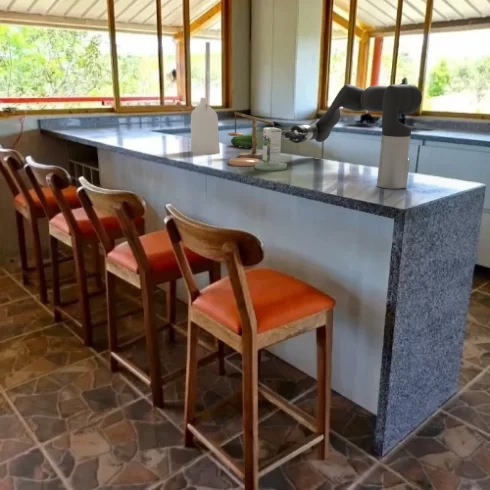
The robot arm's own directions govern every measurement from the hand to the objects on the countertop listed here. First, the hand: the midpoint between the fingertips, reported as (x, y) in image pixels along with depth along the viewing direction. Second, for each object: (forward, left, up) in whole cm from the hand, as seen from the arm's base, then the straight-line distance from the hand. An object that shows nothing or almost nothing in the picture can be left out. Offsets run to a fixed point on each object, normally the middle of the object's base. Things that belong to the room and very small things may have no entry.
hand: (281, 137), depth 199 cm
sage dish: (+5, +7, -12) cm, 14 cm away
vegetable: (+15, -58, -12) cm, 61 cm away
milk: (+35, -37, -12) cm, 52 cm away
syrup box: (+4, +6, -10) cm, 13 cm away
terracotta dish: (+16, -3, -12) cm, 20 cm away
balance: (+11, -22, -12) cm, 27 cm away
